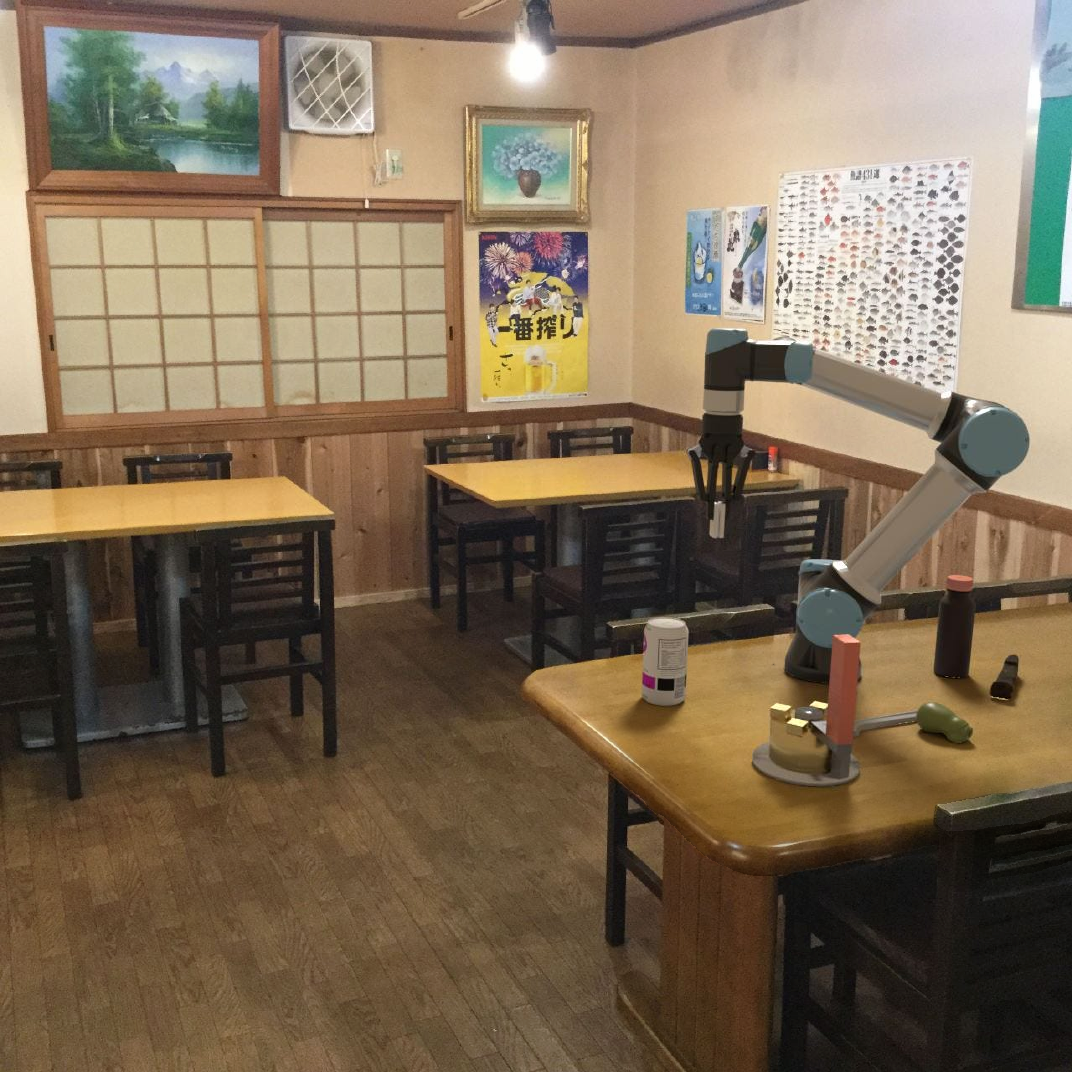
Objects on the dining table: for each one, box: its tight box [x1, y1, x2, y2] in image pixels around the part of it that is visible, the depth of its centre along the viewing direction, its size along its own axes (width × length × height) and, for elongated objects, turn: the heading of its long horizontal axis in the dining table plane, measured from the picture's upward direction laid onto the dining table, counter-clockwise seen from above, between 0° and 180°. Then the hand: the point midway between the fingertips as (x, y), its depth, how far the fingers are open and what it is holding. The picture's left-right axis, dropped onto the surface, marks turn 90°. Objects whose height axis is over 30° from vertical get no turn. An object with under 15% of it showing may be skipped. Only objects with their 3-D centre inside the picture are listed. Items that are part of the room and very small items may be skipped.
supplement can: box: [641, 616, 690, 707], centre depth 218 cm, size 8×8×15 cm
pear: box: [916, 701, 974, 744], centre depth 205 cm, size 6×5×10 cm
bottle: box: [933, 574, 977, 679], centre depth 236 cm, size 7×7×20 cm
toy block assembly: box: [768, 634, 861, 773], centre depth 185 cm, size 19×12×24 cm, turn 11°
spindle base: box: [751, 706, 861, 788], centre depth 190 cm, size 17×17×10 cm
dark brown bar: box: [989, 654, 1020, 700], centre depth 230 cm, size 19×4×5 cm, turn 149°
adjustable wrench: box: [853, 709, 918, 738], centre depth 208 cm, size 25×6×2 cm, turn 109°
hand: (716, 536), depth 223 cm, fingers closed
